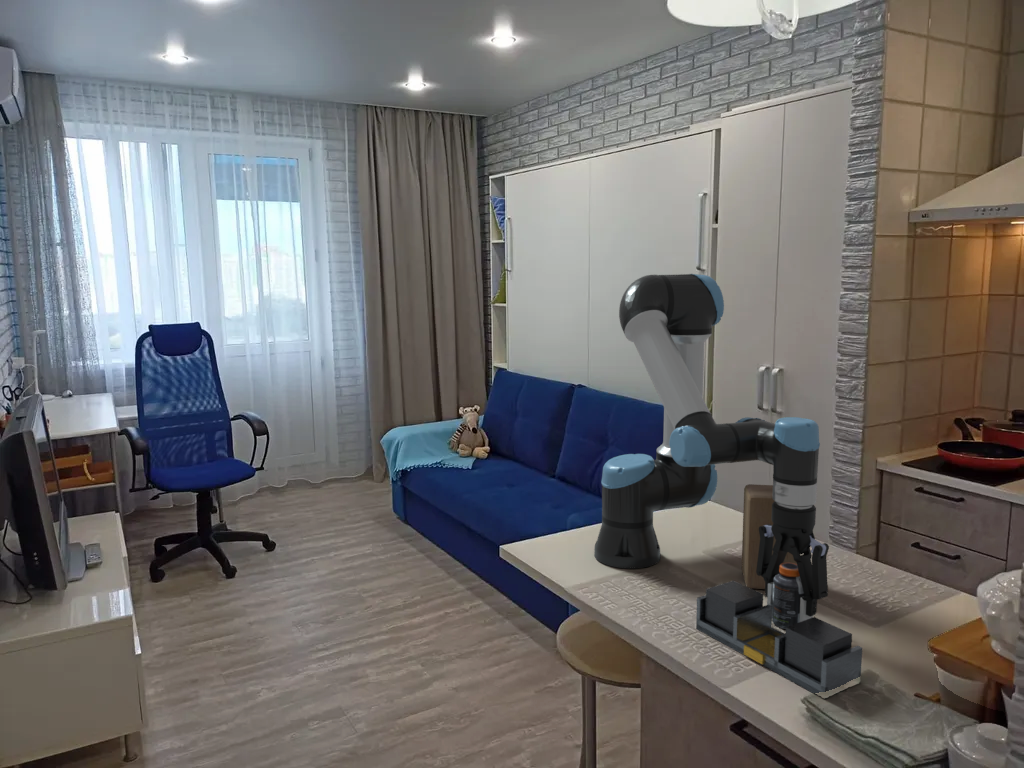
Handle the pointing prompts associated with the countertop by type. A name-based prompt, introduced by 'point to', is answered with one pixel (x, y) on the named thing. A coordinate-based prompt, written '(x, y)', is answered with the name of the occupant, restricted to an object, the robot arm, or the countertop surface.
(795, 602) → the pill bottle
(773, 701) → the countertop surface
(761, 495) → the block
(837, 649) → the rack
